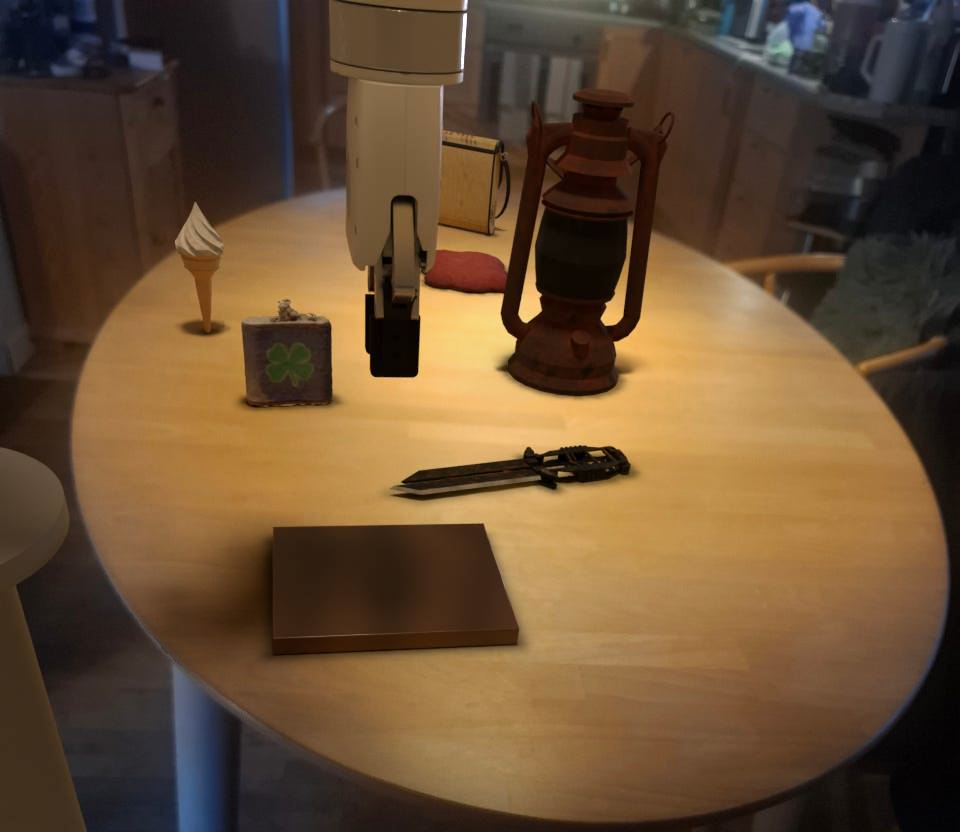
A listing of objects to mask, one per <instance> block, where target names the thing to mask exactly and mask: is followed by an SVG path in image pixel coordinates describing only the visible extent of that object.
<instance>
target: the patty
mask: <svg viewBox="0 0 960 832" xmlns="http://www.w3.org/2000/svg"><path fill="white" fill-rule="evenodd" d="M507 273H508V271H506V265H505V263H504V262H503V261H502V260H501V259H499V257H497V256H494V255H492V254H490V253H486V252H482V251H473V250H472V251H469V250H467V251H459V250H458V251H456V250H450V249H436V255H435V262H434V266H433V267H432V268H431V269H430V270H429V271H427V272H426V273H425V275H424V276H423V277H424V278H423V279H424V282H425V283H426V284H427V285H429V286H431V287H435V288H440V289H441V288H442V289H454V290H457V291H461V292H462V291H463V292H469V293H487V292H497V293H504V290H505V285H506V279H507Z"/></svg>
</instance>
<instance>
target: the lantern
mask: <svg viewBox="0 0 960 832" xmlns="http://www.w3.org/2000/svg"><path fill="white" fill-rule="evenodd" d="M572 100H573V101H575V102H578V103H581V106H582V111H579V112H574V113H572V116H571V117H572V118H571V122H570V121H569V122H568V121H567V122H565V121H564V122H545V123H544V118H543V117H542V114H541V109H540V107H539V104H538V102H537V101H536V99H535V100H532V101H531V104H530V109H531V118H532V122H531V124H530V128H529V130H528V131H527V133H526V134H525V142H526V149H527V151H526V152H527V160H526V165H525V170H524V177H523V183H522V188H521V194H520V199H519V204H518V209H517V212H518V213H517V217H516V222H515V229H514V234H513V240H512V244H511V245H512V246H511V250H510V251H511V252H510V258H509V263H508V267H507V279H506V285H505V290H504V292H503V297H502V302H501V308H500V318H501V322H502V325H503V327H504V329H505V331H506V332H507V334H509V335H510V336H512V337H513V338H515V339H516V341H515V346H514V352H513V353H512V354H511V356H510V357H509V358H508V359H507V369H508V370H507V371H508V373H509V374H510V376H512V377H513V379H514V380H516V381H518V382H519V383H521V384H522V385H524V386H527V387H530V388H532V389H535V390H538V391H541V392H546V393H551V394H556V395H561V396H563V395H564V396H575V397H577V396H594V395H597V394H602V393H605V392H608V391H610V390H612V389H613V388H614V387H615V386H616V385H617V382H618V380H619V372H618V369H617V367H616V366H615V365H616V360H617V349H616V345H615V343H617V342H620V341H621V340H624V339H626V338H627V337H629V336H630V334H631V333H633V332H634V330H635V329H636V327H637V325H638V324H639V322H640V319H641V317H642V316H641V315H642V308H643V300H644V292H645V285H646V277H647V270H648V261H649V252H650V246H651V238H652V230H653V223H654V215H655V207H656V199H657V191H658V183H659V175H660V169H661V164H662V162H663V159H664V157H665V154H666V152H667V150H668V148H669V147H668V142H667V139H668V137H669V136H670V134H671V131H672V130H673V127H674V124H675V120H676V115H675V114H676V113H675V112H674V111H673V110H668V111H667V112H666V113H665V114H664V115H663V116H662V118H661V119H660V121H659V123H658V124H657V125H656V126H655V127H654V128H653V130H650V129H644V128H639V127H634V126H629V124H630V120H629V119H628V118H626V117H622V116H621V115H622V113H623V111H624V109H629V108H634V107H635V104H636V100H635V99H634V98H632V97H631V96H630V95H628V94H627V93H625V92H621V91H618V90H613V89H612V90H611V89H605V88H593V87H592V88H590V87H587V88H582V89H580V90H578V91H576V92H574V93H572ZM669 116H670V117H671V118H670V122H669V126H668V129H667V131H666V133H664V129H663V125H664V122H665V121H666V119H667V118H668V117H669ZM564 146H565V149H564V151H563V152H562V153H561V154H560V156H558V158H556V159H554V158H552V157H550V156H551V155H552V154H553V153H554V152H555V151H556V150H558V149H560V148H562V147H564ZM628 151H630V152H631V153H633V154H632V155H631V156H630V157H628V158H627V153H628ZM638 161H639V162H640V168H639V174H638V175H639V176H638V186H637V193H636V201H635V202H636V203H635V204H634V203H633V201H632V200H631V198H630V197H629V195H628V194H627V193H626V192H625V191H624V189H622V187H620V186H619V185H618V179H619V177H620V178H621V177H627V176H628V177H629V176H631V175H633V173H634V172H633V169H632V167H631V166H633V165H634V164H635V163H637V162H638ZM547 166H548V168H549V169H551V171H552V172H554V174H556V175H557V176H558V177H559V179H560V181H558V182H556V183H555V184H553V185H552V186H550V187H549V188H547V190H546V191H544V192H543V193H542V190H543V185H544V180H545V175H546V169H547ZM541 197H542V199H541ZM540 202H541V205H542V206H544V210H543V213H542V216H541V219H540V223H539V226H538V230H537V235H536V239H535V243H534V271H535V273H534V274H535V283H534V285H535V289H536V291H537V292H538V293H539V294H540V296H539V303H540V308H541V311H540V312H539V313H537V314H536V315H535V316H534V317H533V318H531V319H529V320H528V322H526V321H525V322H524V321H523V320H522V318H521V317H520V315H519V313H520V309H521V308H520V307H521V304H522V303H521V301H522V297H523V292H524V286H525V281H526V276H527V271H528V266H529V259H530V255H531V251H532V250H531V249H532V245H533V239H534V234H535V228H536V223H537V218H538V217H537V216H538V212H539V206H540ZM634 209H635V211H634ZM633 215H634V219H633V227H632V237H631V245H630V251H629V252H630V254H629V262H628V270H627V278H626V286H625V287H626V288H625V294H624V295H625V296H624V305H623V306H624V307H623V312H622V313H623V314H622V317H621V319H619V321H618V322H617V323H615V324H611V325H610V324H609V325H605V323H604V322H603V320H602V317H603V315H604V313H605V312H606V310H607V307H608V306H607V303H609V302H611V301H612V300H613V298H614V296H615V295H616V289H617V286H618V283H619V280H620V278H621V275H622V272H623V269H624V266H625V262H626V259H627V250H628V234H629V233H628V232H629V231H628V230H629V229H628V226H629V225H628V221H629V219H628V218H630V217H632V216H633Z"/></svg>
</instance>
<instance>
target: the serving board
mask: <svg viewBox="0 0 960 832" xmlns="http://www.w3.org/2000/svg"><path fill="white" fill-rule="evenodd" d="M519 633H520V626H519V623H518V620H517V618H516V615H515V612H514V608H513V606H512V603H511V600H510V597H509V595H508V591H507V588H506V586H505V582H504V580H503V577H502V573H501V570H500V568H499V565H498V561H497V559H496V556H495V553H494V550H493V546H492V543H491V541H490V538H489V535H488V532H487V529H486V526H485V523H482V522H481V523H480V522H479V523H425V524H424V523H420V524H365V525H364V524H363V525H361V524H358V525H357V524H356V525H355V524H354V525H306V526H305V525H303V526H302V525H301V526H298V525H297V526H273V527H272V651H273V655H291V654H317V653H336V652H337V653H339V652H360V651H361V652H362V651H364V652H365V651H383V650H384V651H386V650H387V651H388V650H406V649H407V650H410V649H429V648H430V649H431V648H453V647H455V648H456V647H473V646H474V647H475V646H476V647H477V646H479V647H480V646H499V645H501V646H502V645H517V644H518V641H519Z"/></svg>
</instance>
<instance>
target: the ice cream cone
mask: <svg viewBox="0 0 960 832" xmlns="http://www.w3.org/2000/svg"><path fill="white" fill-rule="evenodd" d="M222 242H223V240H222V238H221V237H220V235H219V234H218V233H217V232H216V230H215V229H214V228H213V227H212V225H211V223H210V221H209V220H208V219H207V217H205V215H204V213H203V212H202V210H201V209H200V206H199V205H198V204H197V202H196V201H194V203H193V206H192V208H191V210H190V213H189V216H188V217H187V219H186V221H185V222H184V224H183V226H182V228H181V230H180V232H179V233H178V235H177V238H176V239H175V241H174V244H175V248H176V251H177V254H179V255H180V258H181V259H182V263H183V267H184V268H185V269H186V270H187V271H188V272H189V273H190V274H191V275H192V277H193V278H194V283H195V288H196V289H195V290H196V295H197V299H198V303H199V310H200V314H201V317H202V323H203V328H204V331H205V332H206V333H208V334H209V333H210V332H211V329H212V328H211V327H212V292H213V291H212V285H213V284H212V279H213V277H214V275H215V273H216V272H217V270H219V269H220V262H221V259H222V257H221V256H223V254H224V250H225V244H223V243H222Z"/></svg>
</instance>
